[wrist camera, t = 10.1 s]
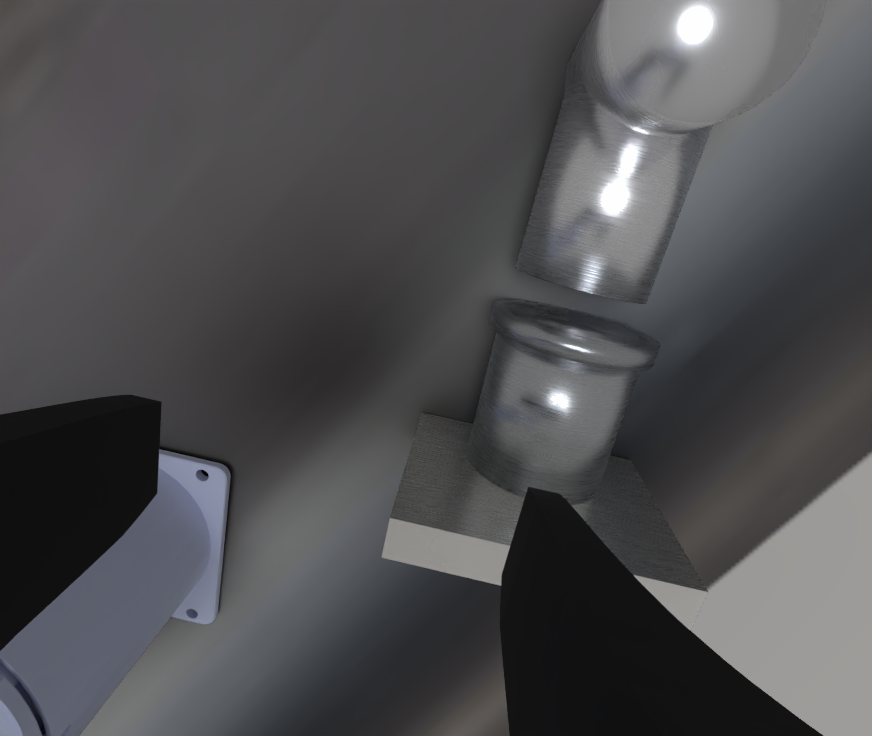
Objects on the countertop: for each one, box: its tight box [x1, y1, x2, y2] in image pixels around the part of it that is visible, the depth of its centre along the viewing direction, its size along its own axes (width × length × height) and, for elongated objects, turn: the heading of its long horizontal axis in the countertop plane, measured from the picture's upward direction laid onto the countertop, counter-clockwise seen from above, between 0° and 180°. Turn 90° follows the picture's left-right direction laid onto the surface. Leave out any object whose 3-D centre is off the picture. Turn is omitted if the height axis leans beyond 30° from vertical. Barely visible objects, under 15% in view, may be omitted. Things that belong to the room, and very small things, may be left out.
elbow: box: [516, 0, 826, 304], centre depth 13 cm, size 8×4×6 cm, turn 166°
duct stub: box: [382, 299, 708, 630], centre depth 15 cm, size 6×8×7 cm
